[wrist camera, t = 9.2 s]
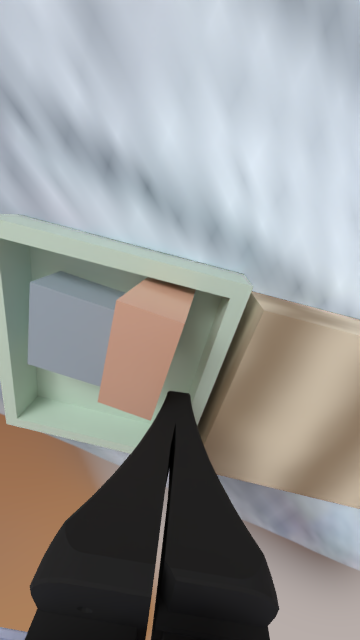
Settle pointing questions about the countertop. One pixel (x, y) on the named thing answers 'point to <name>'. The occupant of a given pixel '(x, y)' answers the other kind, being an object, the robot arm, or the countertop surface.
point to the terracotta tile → (143, 345)
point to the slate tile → (70, 325)
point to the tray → (121, 274)
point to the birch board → (289, 402)
